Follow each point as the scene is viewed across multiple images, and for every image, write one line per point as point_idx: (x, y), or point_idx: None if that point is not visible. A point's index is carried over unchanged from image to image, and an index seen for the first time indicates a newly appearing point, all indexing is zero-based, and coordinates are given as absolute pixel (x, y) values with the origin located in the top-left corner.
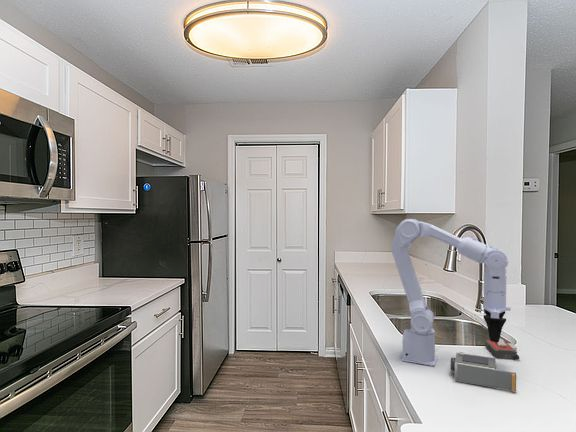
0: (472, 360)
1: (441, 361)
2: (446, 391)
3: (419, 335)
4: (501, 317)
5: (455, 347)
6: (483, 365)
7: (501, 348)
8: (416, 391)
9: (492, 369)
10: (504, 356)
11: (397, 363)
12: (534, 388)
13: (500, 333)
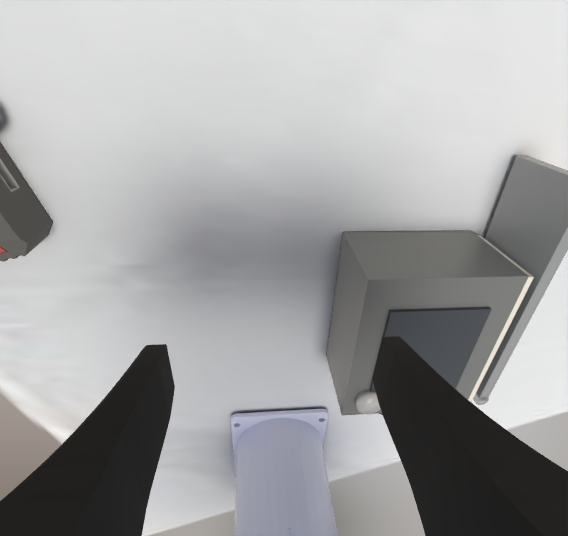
0: (448, 364)
1: (258, 398)
2: (528, 356)
3: None
4: (83, 530)
5: (30, 384)
6: (499, 323)
7: None
8: (533, 408)
9: (543, 288)
10: (18, 191)
11: (339, 470)
12: (454, 54)
13: (456, 392)
